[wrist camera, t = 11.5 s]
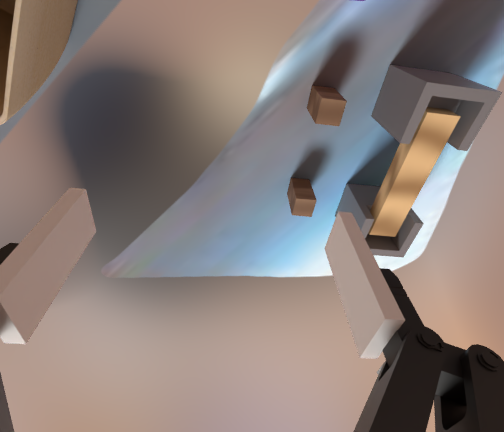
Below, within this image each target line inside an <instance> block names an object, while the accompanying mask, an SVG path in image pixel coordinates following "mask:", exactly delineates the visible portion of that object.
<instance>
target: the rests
mask: <svg viewBox="0 0 504 432" xmlns="http://www.w3.org/2000/svg"><path fill="white" fill-rule="evenodd" d="M346 102H347V101H346V100H345V99H344V98H343V97H342V96H341V95H340V94H339V93H338V92H337V91H336V89H335V88H330V87H322V86H314V85H312V88H311V93H310V97H309V101H308V106H307V109H308V111H309V113H310V115H311V116H312V118H313V120H314V122H315V123H316V124H325V125H333V126H339V125H340V122H341V118H342V115H343V112H344V109H345V105H346ZM287 195H288V199H289V204H290V208H291V213H292V215H297V216H309V217H312V213H313V210H314V207H315V204H316V198H315V195H314V192H313V189H312V186H311V183H310V181H309V179H298V178H291V179H290V184H289V188H288V192H287Z"/></svg>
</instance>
